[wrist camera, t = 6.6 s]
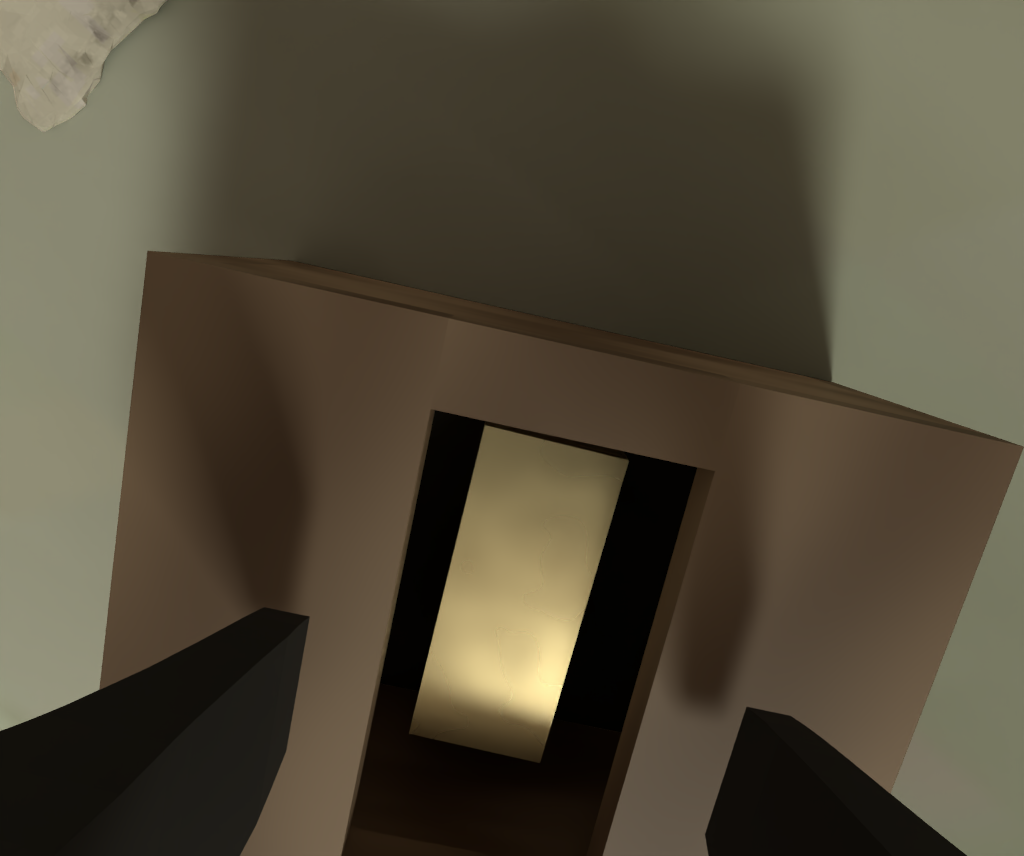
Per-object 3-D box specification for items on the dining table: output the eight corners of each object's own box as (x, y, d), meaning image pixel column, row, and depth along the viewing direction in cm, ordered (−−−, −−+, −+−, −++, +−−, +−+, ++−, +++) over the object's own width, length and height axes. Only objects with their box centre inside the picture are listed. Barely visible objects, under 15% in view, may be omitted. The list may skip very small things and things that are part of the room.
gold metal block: (601, 415, 16) (628, 460, 12) (535, 651, 17) (539, 763, 13) (493, 387, 16) (484, 425, 12) (434, 628, 17) (408, 733, 13)
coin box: (833, 382, 16) (1024, 447, 10) (708, 772, 18) (802, 1020, 12) (292, 260, 15) (147, 251, 9) (228, 675, 17) (77, 882, 11)
